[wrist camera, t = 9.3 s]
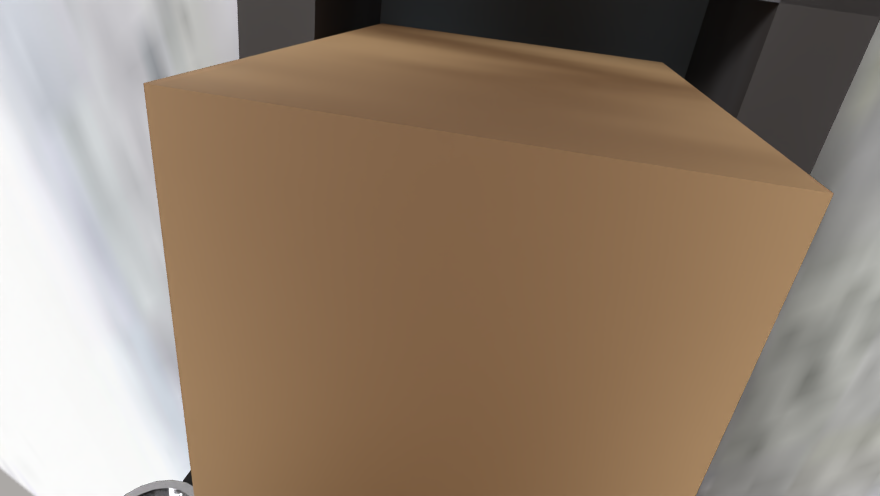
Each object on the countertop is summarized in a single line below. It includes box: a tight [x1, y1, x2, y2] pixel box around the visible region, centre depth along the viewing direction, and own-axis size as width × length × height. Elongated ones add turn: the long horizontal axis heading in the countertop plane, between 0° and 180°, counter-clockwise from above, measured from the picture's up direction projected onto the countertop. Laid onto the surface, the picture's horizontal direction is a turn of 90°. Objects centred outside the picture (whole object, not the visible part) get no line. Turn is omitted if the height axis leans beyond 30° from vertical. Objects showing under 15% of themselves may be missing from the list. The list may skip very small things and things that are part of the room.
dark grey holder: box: [237, 0, 880, 175], centre depth 13 cm, size 11×20×5 cm, turn 173°
